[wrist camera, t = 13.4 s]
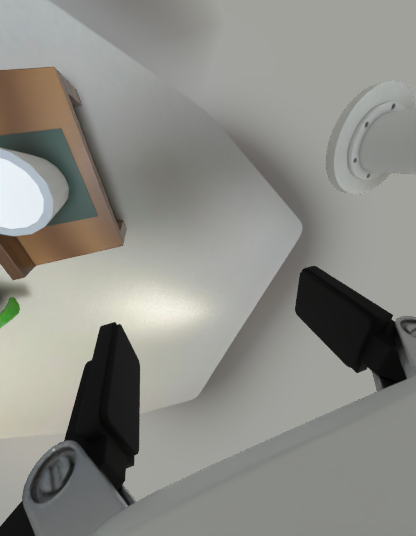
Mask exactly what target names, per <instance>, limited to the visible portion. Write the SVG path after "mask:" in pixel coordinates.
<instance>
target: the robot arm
mask: <svg viewBox="0 0 416 536" xmlns="http://www.w3.org/2000/svg"><path fill="white" fill-rule="evenodd" d="M347 161H348V168H349V171H350V173H351V174H352V175H353V176H354V177H355V178H357V179H361V180H369V179H373V178H375V177H377V176H379V175H380V174H382V173H383V172H385V173H400V174H415V175H416V108H410V109H405V107H404V106H403V105H402V104H401V103H399V102H397V101H389V102H385V103H382V104H379V105H377V106H376V107H374V108H373V109H371V110H370V111H369V112H368V113H367V114H366V115H365V116H364V118H363V119H362V120H361V121H360V123H359V125H358V126H357V128H356V130H355V132H354V134H353V136H352V138H351V141H350V144H349V148H348V156H347ZM295 311H296V314H297V315H298V316H299V317H300V318H301V320H303V322H304V323H305V324H307V326H308V327H309V328H310V329H311V330H312V331H313V332H314V333H315V334H316V335H317V336H318V337H319V338H320V339H321V340H322V341H323V342H324V343H325V344H326V345H327V346H328V347H329V348H330V349H331V350H332V351H333V352H334V353H335V354H336V355H337V356H338V357H339V358H340V359H341V360H342V362H343V363H344V364H345V365H347V366H348V367H351V368H352V369H353V370H354V371H355V372H356V373H359V372H361V371H363V370H366V369H367V367H368V368H369V369H370V370H372V373H373V377H374V381H375V385H376V390H377V392H375V393H373V394H371V395H369V396H366V397H364V398H362V399H359V400H357V401H355V402H353V403H350V404H348V405H346V406H343V407H341V408H339V409H336V410H334V411H332V412H330V413H327V414H325V415H323V416H321V417H318V418H316V419H314V420H312V421H310V422H307V423H305V424H303V425H300V426H298V427H296V428H294V429H291V430H289V431H287V432H284V433H282V434H280V435H278V436H275V437H273V438H271V439H269V440H266V441H264V442H262V443H260V444H258V445H255V446H253V447H251V448H249V449H246V450H244V451H242V452H240V453H238V454H235V455H233V456H231V457H229V458H227V459H224V460H222V461H220V462H217V463H216V464H214V465H211V466H209V467H206V468H204V469H202V470H200V471H198V472H196V473H193V474H191V475H189V476H187V477H185V478H183V479H181V480H179V481H177V482H174V483H173V484H170V485H168V486H166V487H164V488H162V489H160V490H158V491H156V492H154V493H152V494H150V495H148V496H146V497H145V498H143V499H141V500H139V501H137V502H136V500H135V499H134V498H133V497H132V495H131V494H130V493H129V491H128V490H127V489H126V488H125V486H124V485H123V482H124V481H125V471H126V468H129V467H131V466H134V455H136V454H138V451H139V407H140V364H139V360H138V358H137V356H136V354H135V352H134V350H133V348H132V346H131V344H130V342H129V340H128V338H127V336H126V334H125V332H124V330H123V328H122V326H121V324H119V325H117V324H116V323H115V322H114V323H110V324H107V325H103V326H101V327H100V330H99V334H98V338H97V342H96V346H95V350H94V355H93V359H92V360H91V361H89V362H87V363H86V365H85V367H84V371H83V374H82V378H81V382H80V385H79V389H78V393H77V396H76V400H75V404H74V407H73V411H72V415H71V418H70V422H69V426H68V429H67V433H66V437H65V440H64V442H60V443H59V444H57V445H55V446H53V447H52V448H51V449H50V450H49V451H47V452H46V453H45V454H44V455H43V456H42V457H41V458H40V460H39V461H38V462H37V463H36V465H35V466H34V468H33V469H32V471H31V472H30V474H29V476H28V478H27V481H26V483H25V486H24V490H23V496H22V502H21V503H20V504H19V505H18V506H17V508H16V509H15V510H14V511H13V512H12V514H11V515H10V516H9V517H8V518H7V519H6V521H5V522H4V523H3V524H2V525H1V526H0V536H416V317H411V316H403V317H399V318H397V319H396V321H395V322H394V321H393V320H391V319H392V316H393V315H392V314H390V313H389V312H387V311H386V310H384V309H382V308H381V307H379V306H378V305H376V304H375V303H373V302H372V301H370V300H368V299H367V298H365V297H363V296H362V295H360V294H359V293H357V292H356V291H354V290H353V289H351V288H349V287H348V286H346V285H345V284H343V283H342V282H340V281H338V280H336V279H335V278H333V277H332V276H330V275H328V274H327V273H326V272H324V271H323V270H321V269H319V268H318V267H316V266H311V267H308V268H305V269H303V270H302V272H301V273H300V278H299V285H298V292H297V299H296V306H295Z"/></svg>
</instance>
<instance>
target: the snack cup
mask: <svg viewBox="0 0 416 536" xmlns="http://www.w3.org/2000/svg"><path fill="white" fill-rule="evenodd" d="M19 310H20V308H19V304H18V302H17V301H16V299H15V298H14V297H11V298H10V299H9V302H8V304H7V305H6V307H5V309H4V310H3V311H2V313H0V328H1V327H2V326H4V325H5V324H6V323H8V322H9V321H10V320H11V319H13V318H14V317H15V316H16V315H17V314H18V313H19Z"/></svg>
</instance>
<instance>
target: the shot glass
mask: <svg viewBox="0 0 416 536" xmlns="http://www.w3.org/2000/svg"><path fill="white" fill-rule="evenodd" d="M68 194H69V187H68V184H67V181H66V178H65V177H64V175H63V174H62V173H61V172H60V170H59V169H58V168H57V167H56V166H55V165H53V164H52V163H50V162H49V161H47V160H46V159H43V158H40V157H37V156H34V155H30V154H26V153H21V152H17V151H13V150H8V149H4V148H0V234H4V235H9V236H21V235H29V234H33V233H35V232H36V231H38V230H40V229H42V228H44V227H45V226H46V225H47V224H48V223H49V222H50V220H51V219H52V218H53V217H54V216H55V215H56V213H57V212H58V211H59V210H60V209H61V207H62V206H63V205H64V204H65V202H66V200H67V199H68Z"/></svg>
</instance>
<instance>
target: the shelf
mask: <svg viewBox="0 0 416 536" xmlns="http://www.w3.org/2000/svg"><path fill="white" fill-rule="evenodd" d="M79 105H82V104H81V101H80V98H79V96H78V93H77V90H76V89H75V88H74V87H73V86H72V85H71V84H70V83H69V82H68V81H67V80H66V79H65V78H64V77H63V76H62V74H61V73H60V72H59V71H58V70H57V69H56V68H55V67H44V68H28V69H12V70H0V148H4V149H8V150H13V151H17V152H21V153H26V154H30V155H34V156H37V157H40V158H43V159H46V160H47V161H49V162H50V163H52V164H53V165H55V166H56V167H57V168H58V169H59V170H60V172H61V173H62V174H63V175H64V177H65V178H66V181H67V184H68V187H69V194H68V199H67V200H66V202H65V204H64V205H63V206H62V207H61V209H60V210H59V211H58V212H57V213H56V215H55V216H54V217H53V218H52V219H51V220H50V222H49V223H48V224H47V225H46V226H45V227H44V228H42V229H40V230H38V231H36V232H35V233H33V234H29V235H21V236H9V235H4V234H0V264H1V265H2V266H3V268H4V269H5V270H6V272H7V273H8V274H9V275H10V277H11V278H12V279H13V280H16V279H20V278H24V277H25V276H26V275H27V274H28V273H29V272H30V271H31V270H32V269H33V268H34V267H35V266H36V265H41V264H45V263H50V262H54V261H58V260H63V259H67V258H72V257H76V256H80V255H85V254H89V253H94V252H98V251H102V250H107V249H111V248H116V247H120V246H123V243H124V238H125V233H126V227H125V224H124V221H120V222H116V220H115V217H114V215H113V212H112V209H111V207H110V204H109V201H108V199H107V196H106V193H105V191H104V188H103V185H102V183H101V180H100V177H99V175H98V172H97V170H96V167H95V164H94V162H93V159H92V156H91V154H90V151H89V148H88V146H87V143H86V140H85V138H84V135H83V132H82V130H81V127H80V125H79V122H78V119H77V117H76V114H75V111H74V109H73V106H79Z"/></svg>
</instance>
